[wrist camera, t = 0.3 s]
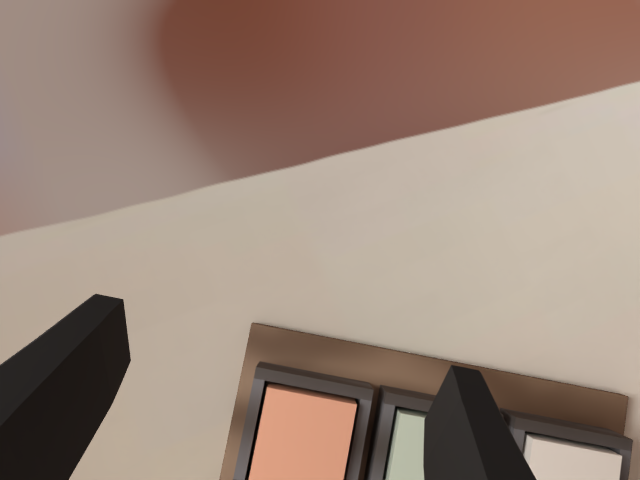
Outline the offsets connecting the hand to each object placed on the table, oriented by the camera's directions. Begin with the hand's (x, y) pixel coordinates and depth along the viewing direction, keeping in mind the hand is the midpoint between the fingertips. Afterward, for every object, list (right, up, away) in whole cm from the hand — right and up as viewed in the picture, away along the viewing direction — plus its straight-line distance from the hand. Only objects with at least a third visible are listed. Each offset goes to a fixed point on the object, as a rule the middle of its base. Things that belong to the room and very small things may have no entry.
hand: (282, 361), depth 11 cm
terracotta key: (0, -12, +25) cm, 27 cm away
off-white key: (+18, -15, +25) cm, 35 cm away
